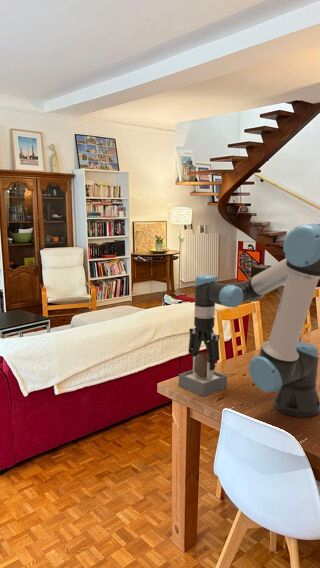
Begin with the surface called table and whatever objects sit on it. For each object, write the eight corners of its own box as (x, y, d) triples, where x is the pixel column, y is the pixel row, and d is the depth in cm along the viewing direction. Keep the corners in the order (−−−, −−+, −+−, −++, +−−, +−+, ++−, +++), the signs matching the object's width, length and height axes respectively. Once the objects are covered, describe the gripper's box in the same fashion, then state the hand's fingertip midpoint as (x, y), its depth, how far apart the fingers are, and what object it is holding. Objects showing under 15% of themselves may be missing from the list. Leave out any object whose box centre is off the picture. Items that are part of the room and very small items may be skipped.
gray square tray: (226, 387, 166) (227, 376, 166) (203, 396, 158) (203, 384, 157) (202, 377, 176) (202, 366, 175) (178, 385, 168) (178, 374, 167)
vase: (191, 376, 165) (191, 354, 163) (198, 371, 171) (198, 349, 169) (208, 380, 162) (208, 357, 160) (214, 374, 168) (215, 352, 166)
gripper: (231, 319, 157) (229, 380, 161) (193, 310, 172) (192, 365, 176) (216, 323, 153) (215, 385, 156) (179, 312, 168) (178, 369, 171)
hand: (203, 374), depth 166 cm, fingers closed on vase, 7 cm apart
